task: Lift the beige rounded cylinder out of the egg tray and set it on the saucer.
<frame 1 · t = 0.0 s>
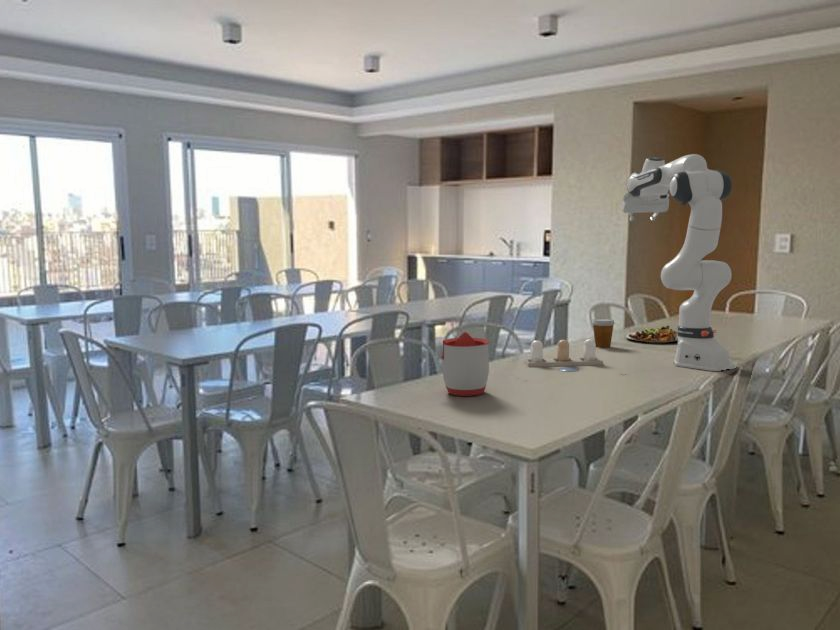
hand: (641, 220, 315), 54 cm above the table, tool tilted 30°, fingers open, 8 cm apart
citrus juicer: (463, 393, 228), on the table
white rounded cylinder: (589, 362, 265), point 1 cm above the table, touching egg tray
plate of food: (655, 340, 322), on the table
disposable coffee cup: (602, 347, 305), on the table
beige rounded cylinder: (563, 363, 265), point 1 cm above the table, touching egg tray
white egg far: (536, 364, 265), point 1 cm above the table, touching egg tray
egg tray: (563, 366, 265), on the table
saucer: (568, 372, 254), on the table
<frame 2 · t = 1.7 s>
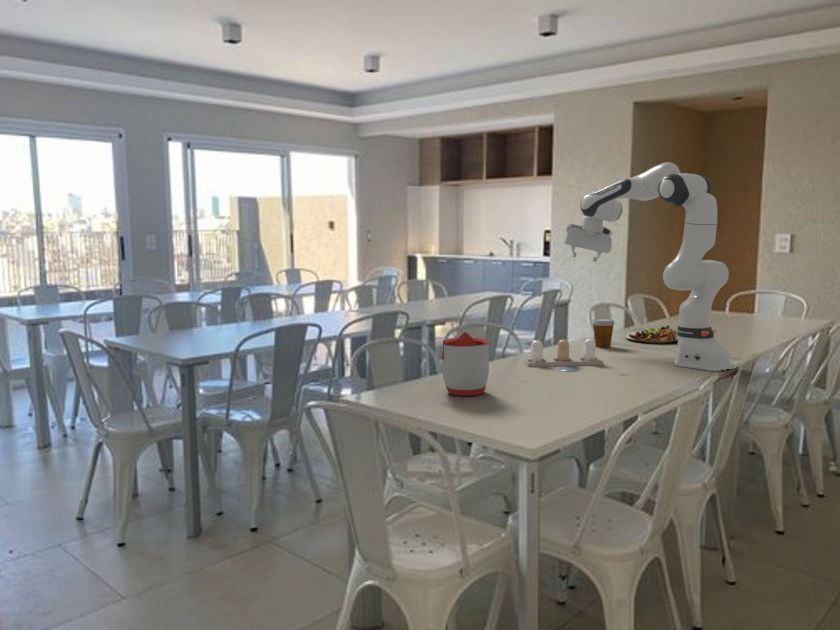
hand: (584, 259, 305), 38 cm above the table, tool pointing down, fingers open, 8 cm apart
nothing on the table moved.
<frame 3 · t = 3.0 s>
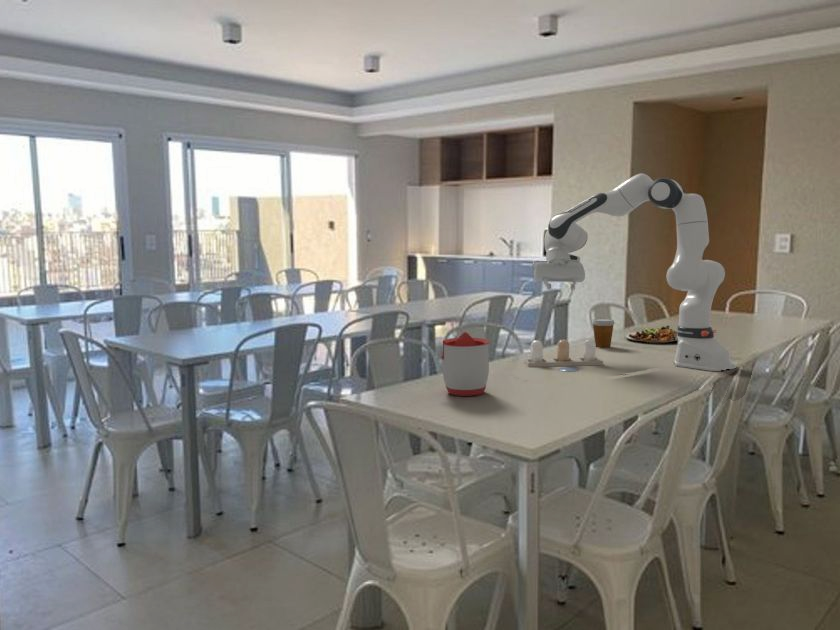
hand: (561, 288, 278), 28 cm above the table, tool tilted 40°, fingers open, 8 cm apart
nothing on the table moved.
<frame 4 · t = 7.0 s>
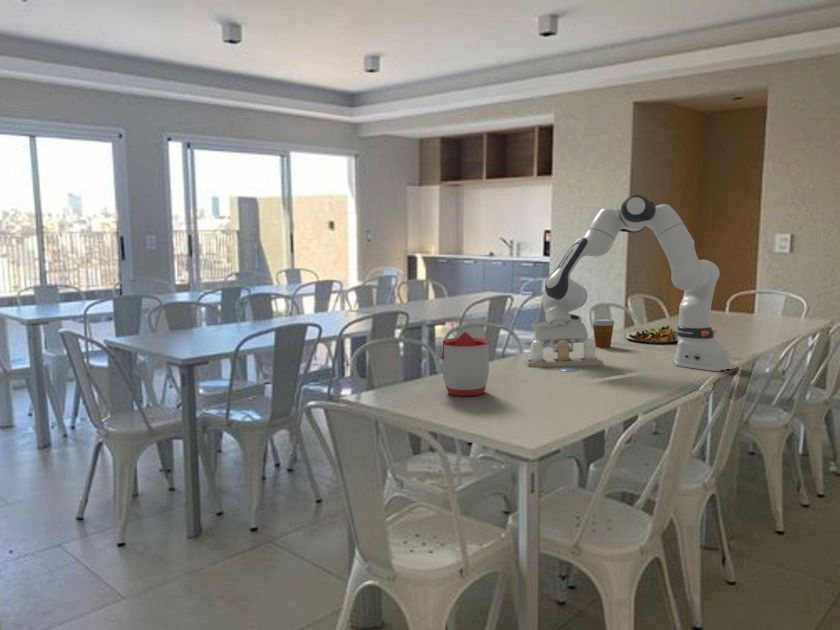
hand: (563, 351, 264), 6 cm above the table, tool tilted 45°, fingers closed on beige rounded cylinder, 4 cm apart
beige rounded cylinder: (563, 363, 265), point 1 cm above the table, touching egg tray, gripper
everything else where it was.
when the fingers open (7 cm above the table, at t = 11.4 s): beige rounded cylinder drops 1 cm, resting on saucer.
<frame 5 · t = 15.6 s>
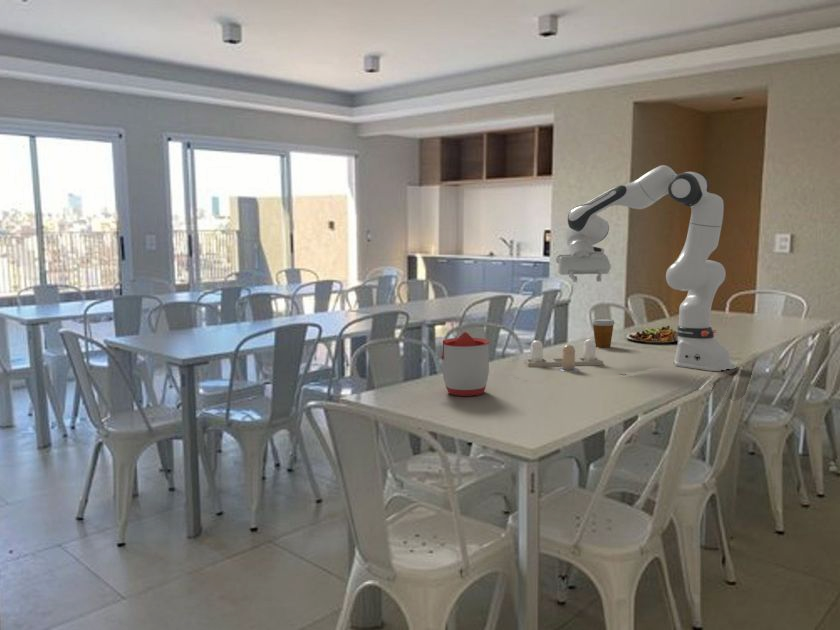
hand: (587, 280, 274), 31 cm above the table, tool tilted 45°, fingers open, 8 cm apart
beige rounded cylinder: (568, 369, 254), point 1 cm above the table, touching saucer
everything else where it was.
at the end: beige rounded cylinder 0.1 cm off-centre on the saucer, point 1.2 cm above the saucer's base; beige rounded cylinder tilted 0°; the gripper is holding nothing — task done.
